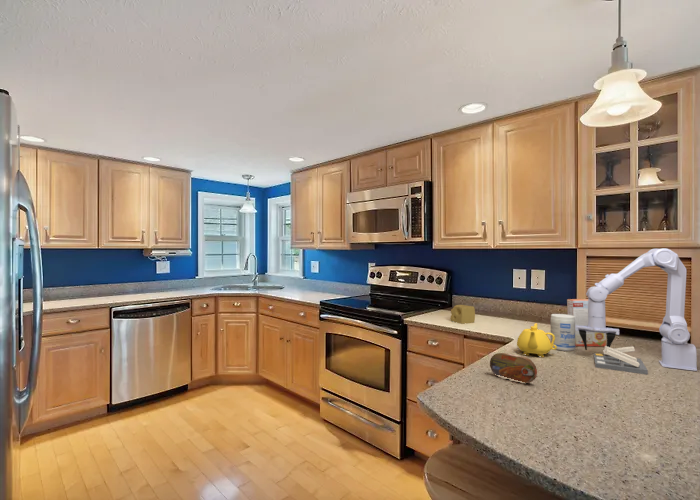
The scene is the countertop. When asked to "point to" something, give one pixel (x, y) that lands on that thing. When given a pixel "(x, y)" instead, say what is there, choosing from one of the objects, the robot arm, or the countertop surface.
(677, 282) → the robot arm
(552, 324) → the supplement tub
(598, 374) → the countertop surface
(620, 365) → the switch base
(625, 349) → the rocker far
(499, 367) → the tin
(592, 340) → the cracker box
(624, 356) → the rocker middle
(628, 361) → the rocker near
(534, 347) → the teapot
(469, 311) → the cheese
